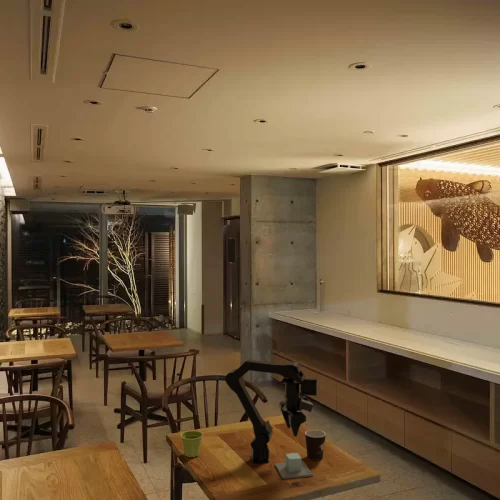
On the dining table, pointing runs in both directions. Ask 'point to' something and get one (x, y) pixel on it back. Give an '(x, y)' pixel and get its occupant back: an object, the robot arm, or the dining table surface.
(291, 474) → the coaster
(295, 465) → the cube
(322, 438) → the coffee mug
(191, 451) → the plant pot
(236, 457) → the dining table surface
